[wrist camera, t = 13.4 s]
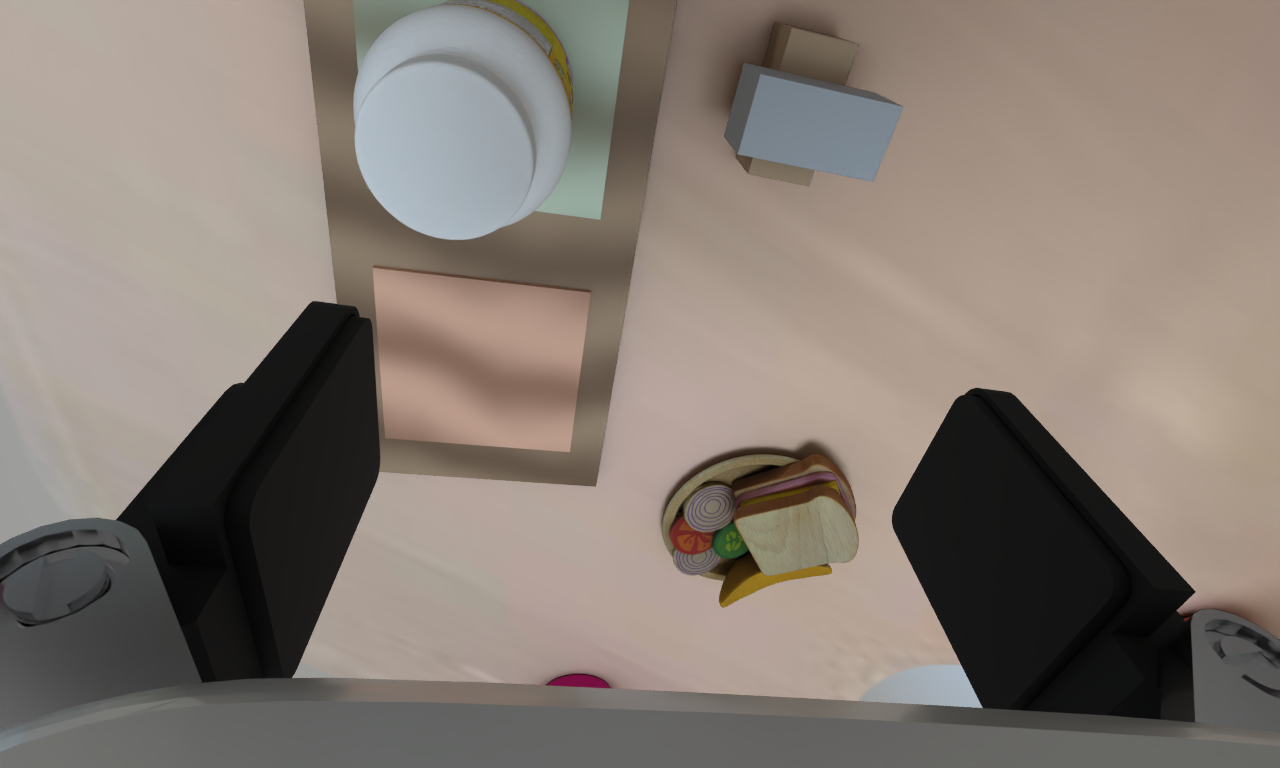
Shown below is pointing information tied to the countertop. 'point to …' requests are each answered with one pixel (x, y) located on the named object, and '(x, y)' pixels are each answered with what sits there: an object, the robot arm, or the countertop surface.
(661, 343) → the countertop surface
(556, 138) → the supplement bottle
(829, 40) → the brick walnut
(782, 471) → the toy sandwich meal
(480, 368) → the tile board
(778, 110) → the brick grey
